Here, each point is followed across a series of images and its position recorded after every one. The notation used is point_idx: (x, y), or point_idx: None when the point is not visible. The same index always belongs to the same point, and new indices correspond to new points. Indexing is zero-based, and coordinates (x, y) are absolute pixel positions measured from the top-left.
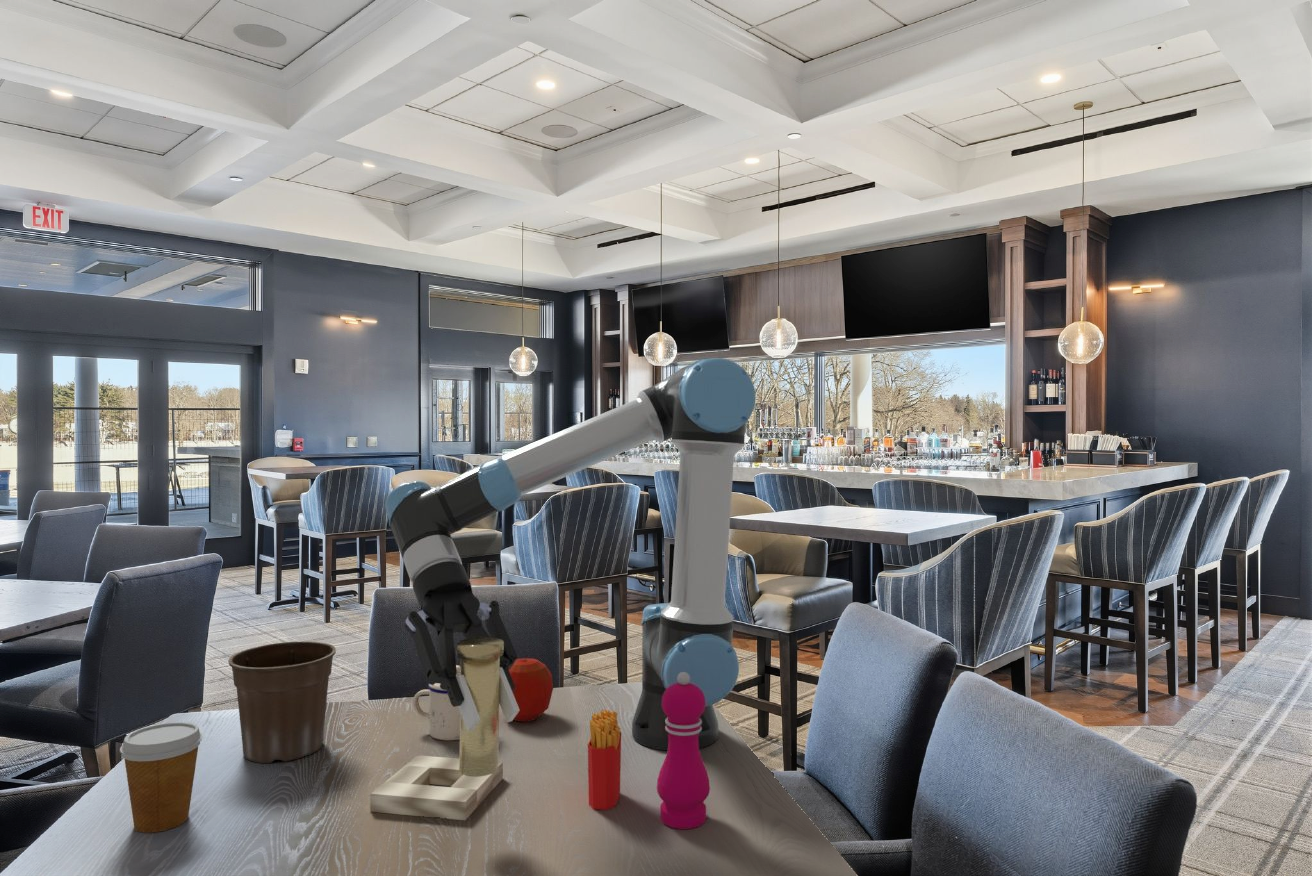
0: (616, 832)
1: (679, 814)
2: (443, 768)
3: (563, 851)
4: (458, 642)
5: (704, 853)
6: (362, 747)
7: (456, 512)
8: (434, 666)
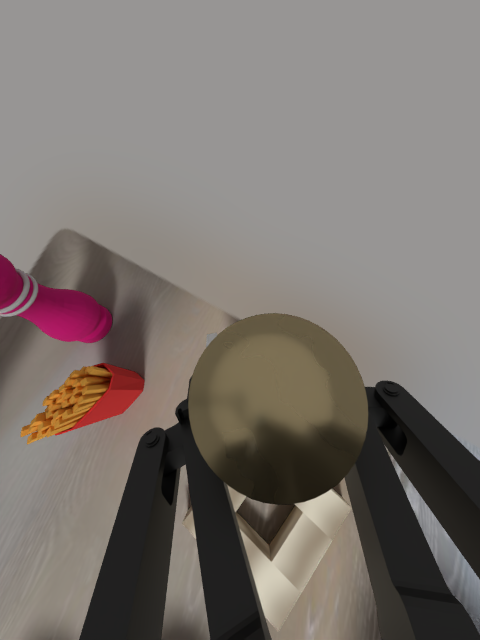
0: (152, 330)
1: (99, 307)
2: (256, 545)
3: (202, 322)
4: (358, 449)
5: (118, 272)
6: None
7: None
8: (406, 400)
